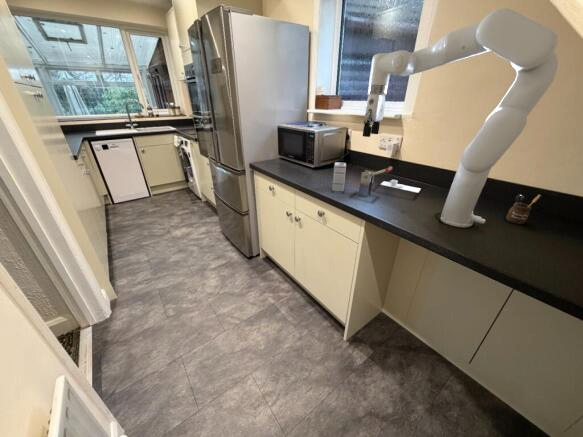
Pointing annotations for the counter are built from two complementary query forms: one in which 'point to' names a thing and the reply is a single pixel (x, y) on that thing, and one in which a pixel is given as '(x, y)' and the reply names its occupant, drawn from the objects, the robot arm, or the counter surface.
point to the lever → (382, 171)
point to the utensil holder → (520, 211)
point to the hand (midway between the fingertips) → (370, 135)
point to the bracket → (366, 183)
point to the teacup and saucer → (400, 186)
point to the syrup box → (339, 176)
